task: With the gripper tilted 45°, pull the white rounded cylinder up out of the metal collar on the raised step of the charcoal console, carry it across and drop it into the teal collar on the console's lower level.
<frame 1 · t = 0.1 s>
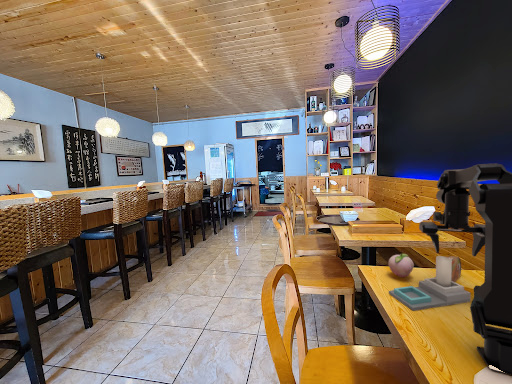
hand: (455, 254, 72), 15 cm above the table, tool pointing down, fingers open, 9 cm apart
decorative fruit: (400, 277, 88), on the table
white rounded cylinder: (443, 286, 74), point 3 cm above the table, touching console
console: (427, 297, 73), on the table
tin: (450, 280, 84), on the table
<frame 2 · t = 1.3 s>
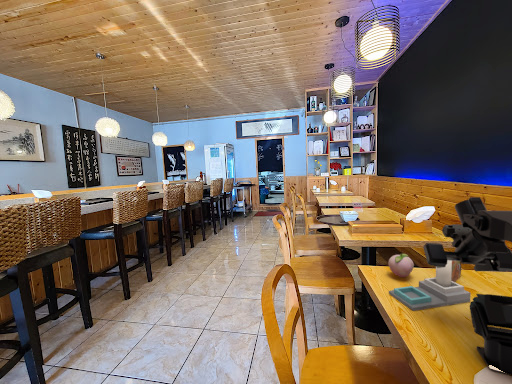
hand: (455, 267, 66), 13 cm above the table, tool tilted 45°, fingers open, 9 cm apart
nothing on the table moved.
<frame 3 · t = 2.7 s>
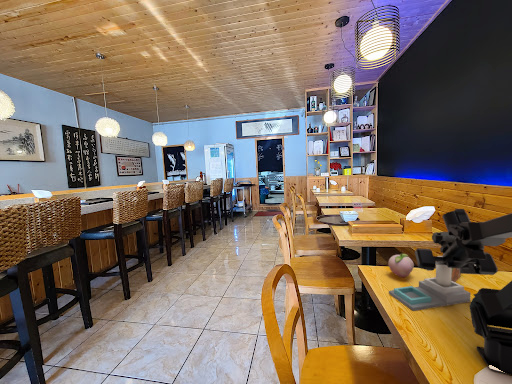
hand: (443, 270, 73), 9 cm above the table, tool tilted 45°, fingers open, 9 cm apart
nothing on the table moved.
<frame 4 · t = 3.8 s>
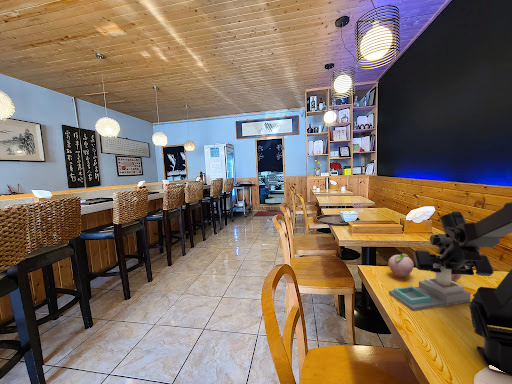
hand: (441, 271, 75), 8 cm above the table, tool tilted 45°, fingers closed on white rounded cylinder, 4 cm apart
white rounded cylinder: (443, 286, 74), point 3 cm above the table, touching console, gripper
everything else where it was.
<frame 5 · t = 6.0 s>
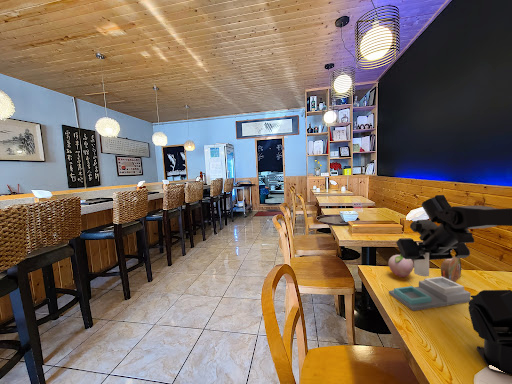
hand: (418, 258, 74), 13 cm above the table, tool tilted 45°, fingers closed on white rounded cylinder, 4 cm apart
white rounded cylinder: (421, 273, 73), point 8 cm above the table, touching gripper
everything else where it was.
when the fingers open (7 cm above the table, at t = 8.2 s): white rounded cylinder stays where it is, resting on console.
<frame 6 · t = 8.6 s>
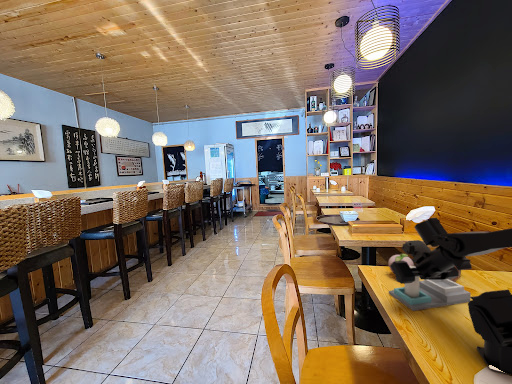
hand: (408, 279, 73), 7 cm above the table, tool tilted 45°, fingers open, 8 cm apart
white rounded cylinder: (411, 297, 72), point 1 cm above the table, touching console
everything else where it was.
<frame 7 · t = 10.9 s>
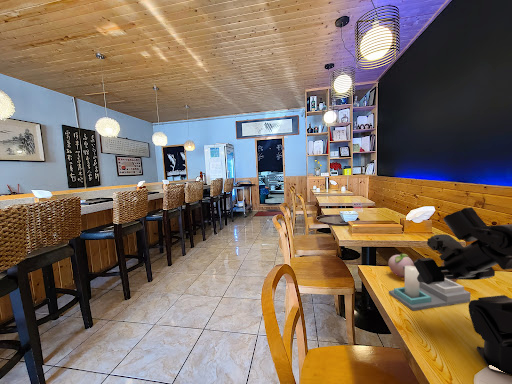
hand: (432, 278, 64), 11 cm above the table, tool tilted 45°, fingers open, 9 cm apart
nothing on the table moved.
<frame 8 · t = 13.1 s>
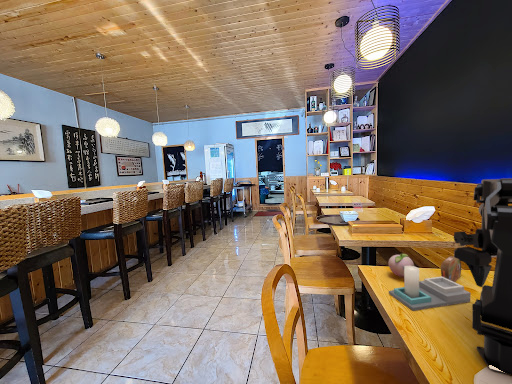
hand: (494, 284, 58), 12 cm above the table, tool pointing down, fingers open, 9 cm apart
nothing on the table moved.
at the end: white rounded cylinder 0.0 cm from the target spot, point 1.0 cm above the table; white rounded cylinder tilted 1°; the gripper is holding nothing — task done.
